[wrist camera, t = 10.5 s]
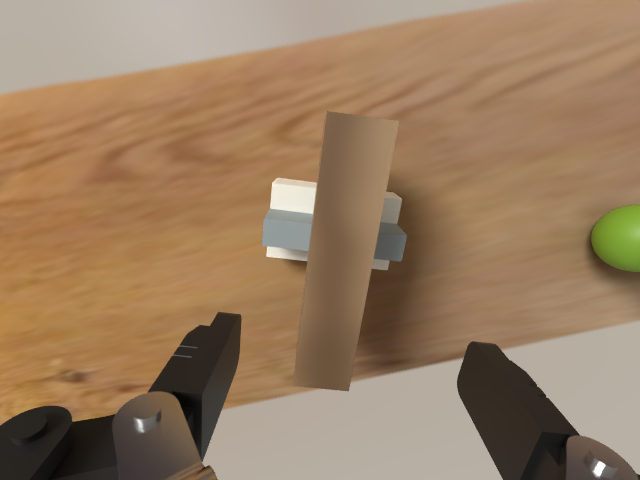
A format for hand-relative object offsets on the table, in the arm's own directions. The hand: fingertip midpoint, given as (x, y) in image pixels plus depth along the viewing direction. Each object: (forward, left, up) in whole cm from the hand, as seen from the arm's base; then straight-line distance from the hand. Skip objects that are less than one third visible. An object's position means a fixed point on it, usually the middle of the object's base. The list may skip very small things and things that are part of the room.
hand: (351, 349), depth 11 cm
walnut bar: (0, 0, -12) cm, 12 cm away
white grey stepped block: (0, 0, -18) cm, 18 cm away
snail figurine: (-25, -2, -18) cm, 31 cm away
